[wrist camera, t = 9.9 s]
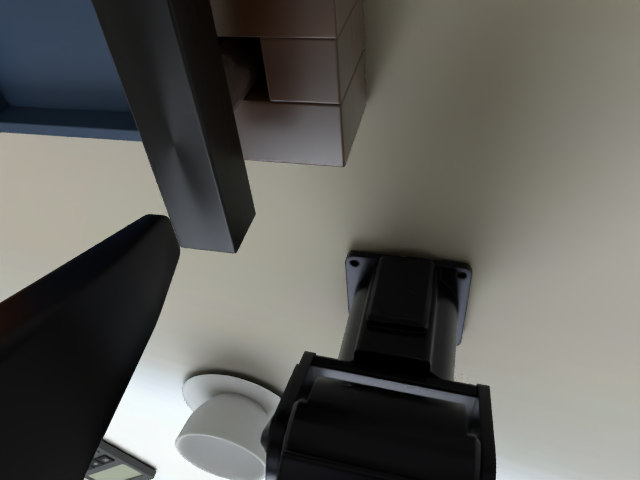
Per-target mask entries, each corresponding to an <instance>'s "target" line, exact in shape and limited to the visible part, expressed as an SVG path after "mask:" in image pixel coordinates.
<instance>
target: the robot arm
mask: <svg viewBox="0 0 640 480" xmlns="http://www.w3.org/2000/svg"><path fill="white" fill-rule="evenodd" d="M179 256H180V246H179V242H178V240H177V237H176V234H175V232H174V229H173V226H172V223H171V221H170V219H169V218H168V217H167V216H164V215H154V214H148V215H145V216H143V217H141V218H140V219H138V220H136V221H135V222H133V223H131V224H130V225H128V226H127V227H125V228H123V229H122V230H120V231H118V232H117V233H115V234H113V235H112V236H110V237H108V238H107V239H105V240H103V241H102V242H100V243H98V244H97V245H95V246H93V247H92V248H90V249H89V250H87V251H85V252H84V253H82V254H80V255H79V256H77V257H75V258H74V259H72V260H70V261H69V262H67V263H65V264H64V265H62V266H60V267H59V268H57V269H55V270H54V271H52V272H50V273H49V274H47V275H45V276H44V277H42V278H41V279H39V280H37V281H36V282H34V283H32V284H31V285H29V286H27V287H26V288H24V289H22V290H21V291H19V292H17V293H16V294H14V295H12V296H11V297H9V298H7V299H6V300H4V301H2V302H1V303H0V480H84V477H85V475H86V473H87V471H88V469H89V467H90V465H91V463H92V460H93V458H94V456H95V454H96V452H97V450H98V448H99V445H100V443H101V441H102V439H103V437H104V435H105V433H106V431H107V428H108V426H109V424H110V422H111V420H112V418H113V416H114V413H115V411H116V409H117V407H118V405H119V403H120V401H121V399H122V396H123V394H124V392H125V390H126V388H127V386H128V384H129V381H130V379H131V377H132V375H133V373H134V371H135V369H136V366H137V364H138V362H139V360H140V358H141V356H142V354H143V352H144V349H145V347H146V345H147V343H148V341H149V339H150V337H151V334H152V332H153V330H154V328H155V325H156V323H157V321H158V318H159V315H160V313H161V310H162V307H163V304H164V301H165V298H166V295H167V292H168V289H169V286H170V283H171V280H172V277H173V275H174V272H175V269H176V266H177V263H178V260H179ZM353 260H357V261H353ZM345 266H346V280H347V294H348V308H349V317H348V321H347V325H346V329H345V333H344V337H343V341H342V345H341V349H340V353H339V357H338V359H334V358H329V357H324V356H318V355H316V353H313V352H307V351H305V352H304V354H303V356H302V358H301V361H300V363H299V364H296V366H295V369H294V370H293V373H292V375H291V377H290V380H289V382H288V384H287V386H286V389H285V391H284V393H283V395H282V398H281V400H280V402H279V404H278V406H277V409H276V411H275V413H274V415H273V416H272V418H271V419H270V421H269V422H268V424H267V425H266V427H265V428H264V430H263V432H262V435H261V440H260V443H261V445H262V447H263V449H264V451H265V453H266V468H265V479H266V480H496V453H495V441H494V430H493V419H492V409H491V398H490V387H489V386H487V385H482V384H477V385H471V384H466V383H461V382H455V381H454V367H455V352H456V346H457V345H459V344H460V343H461V339H462V333H463V326H464V320H465V314H466V308H467V302H468V296H469V290H470V284H471V277H472V268H471V267H470V266H469V265H468V264H465V263H459V262H450V261H441V260H431V259H422V258H413V257H404V256H394V255H385V254H376V253H367V252H357V251H352V252H349V253H348V254H347V257H346V261H345ZM459 272H464V273H459Z"/></svg>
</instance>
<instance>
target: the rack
mask: <svg viewBox="0 0 640 480" xmlns="http://www.w3.org/2000/svg"><path fill="white" fill-rule="evenodd" d="M210 4H211V9H212V14H213V18H214V23H215V28H216V32H217V37H218V41H219V46H220V45H221V44H222V43H223V41H224V40H225V39H226V38H227V37H261V38H260V43H261V49H262V55H263V61H264V70H263V71H262V73H261V74H260V76H259V77H258V78H257V80H256V81H255V83H254V84H253V86H252V87H251V89H250V90H249V92H248V93H247V95H246V96H245V97H244V99H243V100H242V102H241V103H240V105H239V106H238V108H237V109H236V111H235V112H234V116H235V120H236V125H237V130H238V134H239V139H240V144H241V148H242V153H243V157H244V160H254V161H268V162H281V163H295V164H309V165H323V166H337V167H344V166H345V164H346V162H347V159H348V156H349V153H350V150H351V147H352V144H353V141H354V139H355V136H356V133H357V130H358V127H359V124H360V121H361V118H362V116H363V113H364V110H365V107H366V77H365V50H364V47H365V39H364V0H210Z"/></svg>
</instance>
